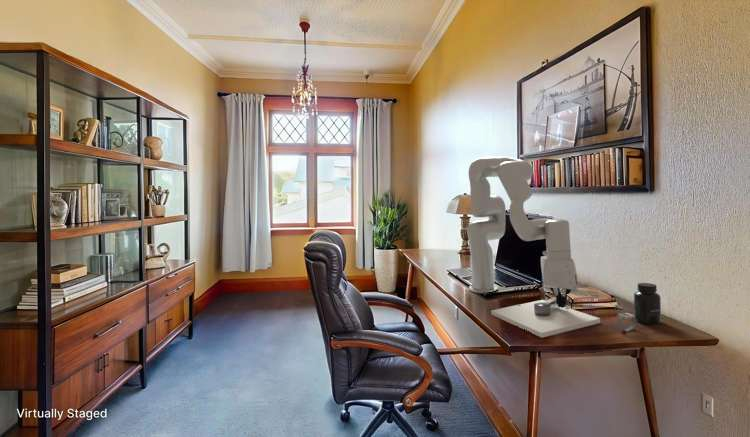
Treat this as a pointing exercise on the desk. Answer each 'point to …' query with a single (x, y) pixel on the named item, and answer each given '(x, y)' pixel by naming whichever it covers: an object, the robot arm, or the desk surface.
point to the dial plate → (544, 319)
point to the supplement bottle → (647, 304)
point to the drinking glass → (542, 269)
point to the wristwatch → (626, 316)
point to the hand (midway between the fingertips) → (561, 306)
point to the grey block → (545, 307)
